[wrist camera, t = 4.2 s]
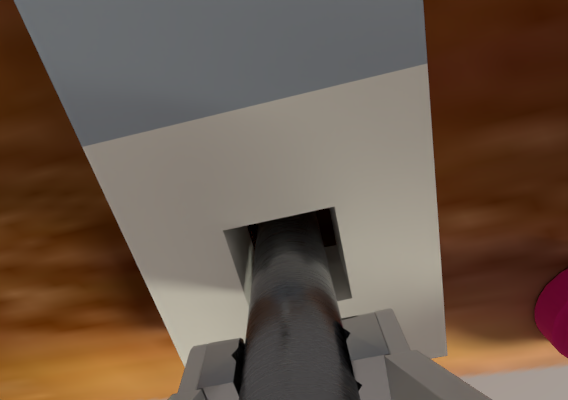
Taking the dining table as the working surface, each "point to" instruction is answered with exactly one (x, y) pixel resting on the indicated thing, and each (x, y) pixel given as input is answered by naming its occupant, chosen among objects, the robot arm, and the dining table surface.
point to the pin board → (256, 145)
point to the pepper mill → (554, 312)
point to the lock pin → (294, 319)
